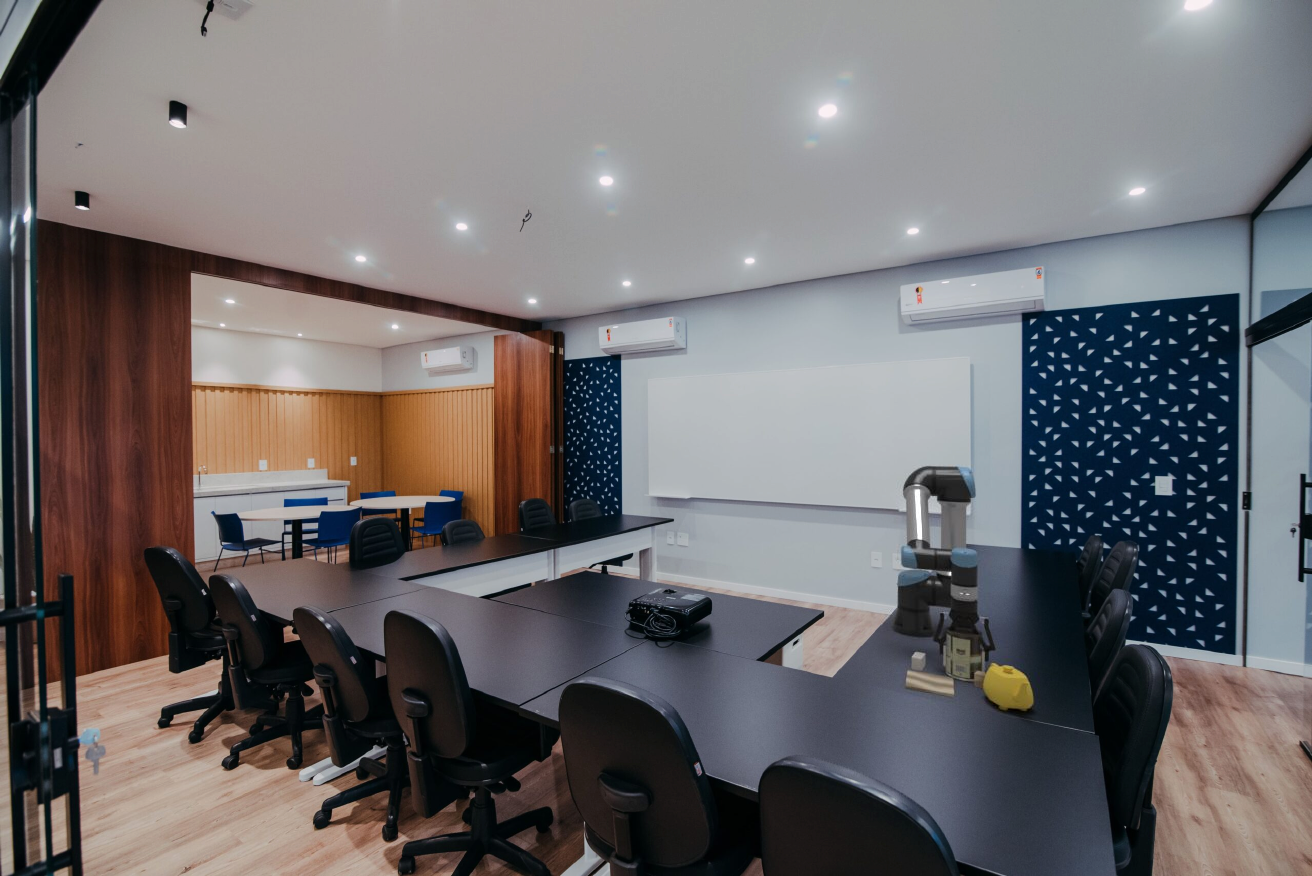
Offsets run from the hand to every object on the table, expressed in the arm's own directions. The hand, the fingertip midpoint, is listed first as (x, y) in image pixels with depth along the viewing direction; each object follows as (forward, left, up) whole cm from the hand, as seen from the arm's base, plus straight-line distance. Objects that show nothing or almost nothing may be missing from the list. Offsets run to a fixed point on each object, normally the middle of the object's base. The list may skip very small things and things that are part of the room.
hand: (963, 667), depth 180 cm
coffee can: (0, 0, -2) cm, 2 cm away
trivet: (+13, -9, -2) cm, 16 cm away
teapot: (+18, +11, -3) cm, 21 cm away
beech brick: (+7, +6, -2) cm, 10 cm away
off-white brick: (0, -13, -2) cm, 13 cm away
